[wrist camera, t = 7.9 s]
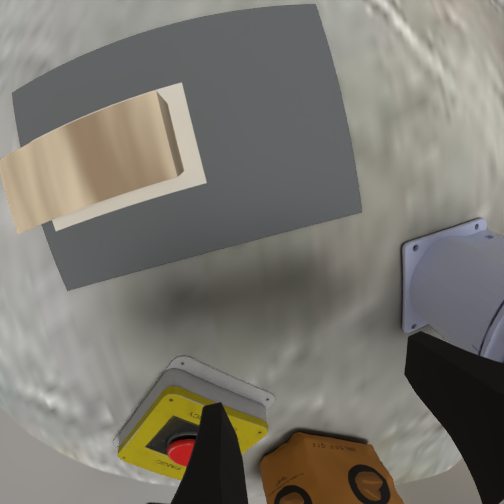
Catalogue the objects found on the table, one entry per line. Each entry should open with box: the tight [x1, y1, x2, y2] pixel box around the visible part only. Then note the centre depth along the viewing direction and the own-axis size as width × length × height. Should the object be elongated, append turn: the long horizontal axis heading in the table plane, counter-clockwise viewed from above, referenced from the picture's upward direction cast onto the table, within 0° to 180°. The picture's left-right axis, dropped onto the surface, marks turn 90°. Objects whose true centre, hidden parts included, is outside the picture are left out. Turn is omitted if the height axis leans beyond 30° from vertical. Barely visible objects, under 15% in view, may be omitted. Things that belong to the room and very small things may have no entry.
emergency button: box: [113, 355, 275, 480], centre depth 22 cm, size 9×4×15 cm
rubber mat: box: [12, 4, 362, 291], centre depth 16 cm, size 20×14×1 cm
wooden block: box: [0, 91, 184, 234], centre depth 14 cm, size 4×4×9 cm
